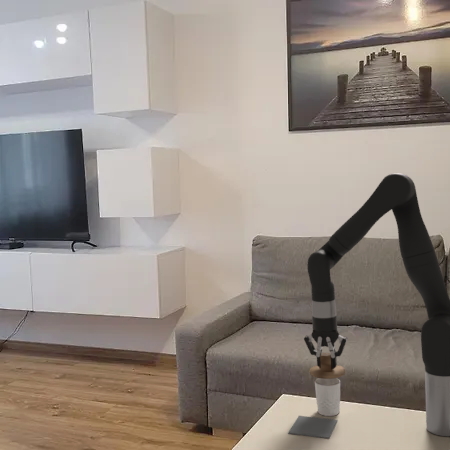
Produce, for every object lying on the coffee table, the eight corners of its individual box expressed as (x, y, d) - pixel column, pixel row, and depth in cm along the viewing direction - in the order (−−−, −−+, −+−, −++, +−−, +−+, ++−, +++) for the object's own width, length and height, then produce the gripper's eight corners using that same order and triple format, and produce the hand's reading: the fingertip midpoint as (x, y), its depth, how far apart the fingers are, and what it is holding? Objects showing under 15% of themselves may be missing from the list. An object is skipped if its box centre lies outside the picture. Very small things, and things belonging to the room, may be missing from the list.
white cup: (343, 416, 180) (342, 385, 179) (317, 417, 180) (316, 386, 179) (339, 406, 188) (337, 376, 187) (314, 407, 188) (313, 377, 187)
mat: (337, 421, 177) (337, 419, 177) (329, 438, 166) (329, 437, 166) (299, 416, 181) (298, 415, 181) (288, 433, 170) (288, 432, 170)
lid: (348, 367, 185) (347, 349, 185) (341, 379, 175) (340, 360, 175) (314, 365, 190) (313, 348, 189) (305, 377, 179) (304, 358, 179)
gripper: (349, 311, 182) (351, 365, 183) (305, 310, 187) (307, 363, 189) (344, 317, 175) (347, 373, 176) (298, 316, 180) (302, 370, 182)
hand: (327, 368), depth 182 cm, fingers closed on lid, 3 cm apart
